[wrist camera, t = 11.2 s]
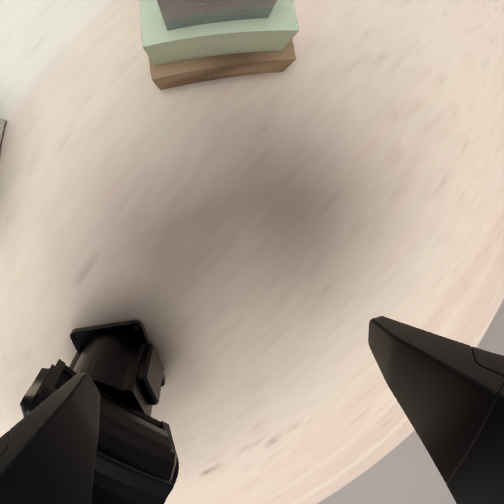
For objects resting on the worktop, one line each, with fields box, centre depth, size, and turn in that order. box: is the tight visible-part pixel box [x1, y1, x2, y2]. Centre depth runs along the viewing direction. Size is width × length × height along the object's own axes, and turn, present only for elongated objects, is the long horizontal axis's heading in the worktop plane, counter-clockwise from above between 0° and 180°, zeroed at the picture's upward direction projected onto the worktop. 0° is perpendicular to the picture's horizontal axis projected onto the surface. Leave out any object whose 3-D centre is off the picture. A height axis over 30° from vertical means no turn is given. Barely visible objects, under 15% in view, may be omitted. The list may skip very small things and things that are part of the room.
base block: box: [149, 39, 296, 90], centre depth 15 cm, size 8×8×4 cm
